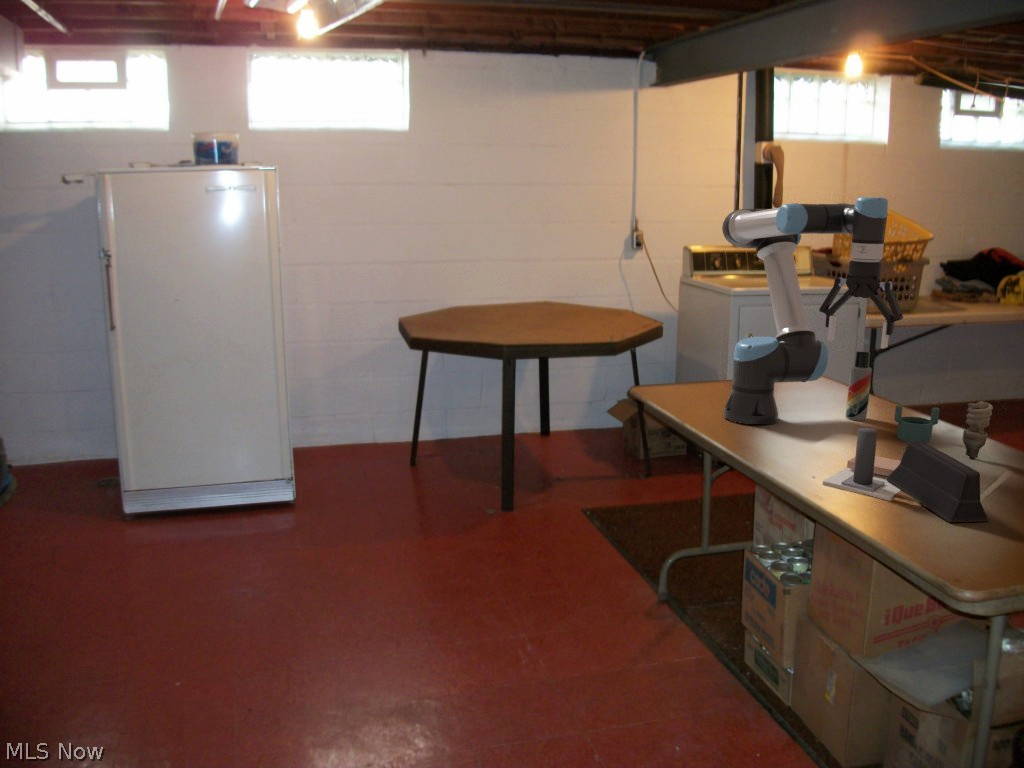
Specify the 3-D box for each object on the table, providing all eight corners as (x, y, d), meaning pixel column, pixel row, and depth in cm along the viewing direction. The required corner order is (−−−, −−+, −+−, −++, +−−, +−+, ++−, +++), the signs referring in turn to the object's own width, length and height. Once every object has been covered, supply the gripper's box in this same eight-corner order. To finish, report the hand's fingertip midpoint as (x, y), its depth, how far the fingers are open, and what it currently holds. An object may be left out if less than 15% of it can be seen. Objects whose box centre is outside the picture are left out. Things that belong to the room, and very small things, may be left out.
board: (822, 484, 196) (823, 478, 196) (866, 458, 215) (866, 453, 214) (890, 500, 186) (891, 494, 186) (929, 472, 205) (930, 466, 204)
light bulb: (988, 460, 215) (996, 401, 211) (980, 464, 211) (989, 405, 207) (964, 454, 219) (972, 397, 215) (956, 459, 215) (964, 401, 211)
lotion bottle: (845, 419, 250) (852, 351, 245) (845, 415, 255) (852, 348, 250) (866, 422, 248) (873, 353, 243) (866, 417, 253) (873, 350, 248)
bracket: (938, 440, 231) (942, 408, 229) (916, 445, 226) (920, 412, 224) (908, 432, 238) (912, 401, 236) (886, 436, 234) (890, 404, 232)
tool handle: (850, 482, 193) (855, 430, 191) (857, 477, 196) (862, 426, 193) (868, 486, 191) (873, 434, 188) (875, 481, 194) (880, 430, 191)
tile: (861, 460, 211) (846, 468, 203) (862, 453, 210) (847, 461, 203) (913, 470, 203) (900, 479, 196) (914, 463, 203) (901, 471, 195)
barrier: (885, 479, 196) (892, 438, 194) (920, 479, 198) (928, 437, 195) (949, 522, 174) (958, 476, 171) (989, 522, 175) (998, 475, 172)
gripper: (811, 257, 221) (803, 339, 226) (912, 265, 205) (902, 352, 210) (823, 256, 226) (815, 335, 231) (923, 263, 210) (912, 348, 215)
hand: (856, 344), depth 220 cm, fingers open, 13 cm apart
